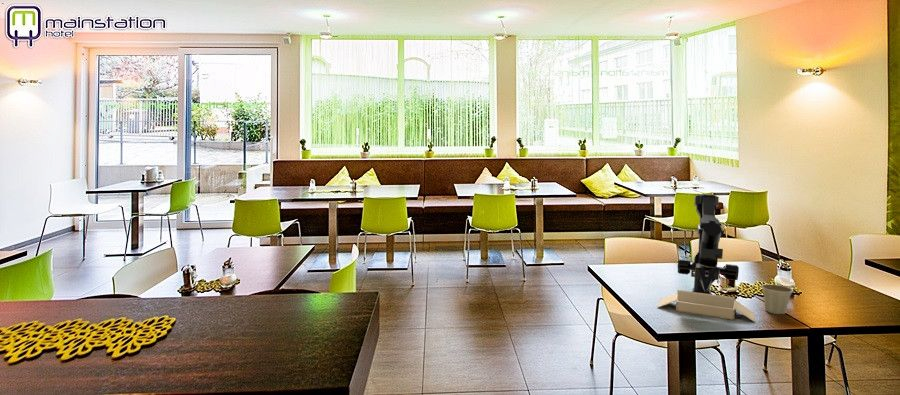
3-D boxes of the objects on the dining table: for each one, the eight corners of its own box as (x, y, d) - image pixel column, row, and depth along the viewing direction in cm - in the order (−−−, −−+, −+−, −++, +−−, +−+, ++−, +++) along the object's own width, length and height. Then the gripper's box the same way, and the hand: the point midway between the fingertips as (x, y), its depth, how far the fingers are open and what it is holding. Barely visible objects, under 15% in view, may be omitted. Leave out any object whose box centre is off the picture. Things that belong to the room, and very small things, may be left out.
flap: (677, 299, 183) (677, 289, 178) (733, 307, 175) (734, 297, 170) (677, 301, 182) (677, 291, 177) (733, 309, 174) (734, 298, 170)
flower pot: (796, 317, 179) (798, 292, 178) (765, 315, 181) (767, 290, 180) (784, 308, 188) (786, 285, 187) (755, 306, 190) (757, 283, 189)
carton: (661, 296, 200) (662, 287, 200) (753, 309, 186) (753, 299, 186) (657, 308, 187) (657, 297, 186) (755, 322, 173) (756, 311, 172)
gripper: (679, 236, 183) (675, 274, 174) (740, 241, 174) (738, 282, 166) (680, 254, 191) (675, 291, 182) (738, 260, 182) (736, 299, 174)
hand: (705, 290), depth 176 cm, fingers closed
